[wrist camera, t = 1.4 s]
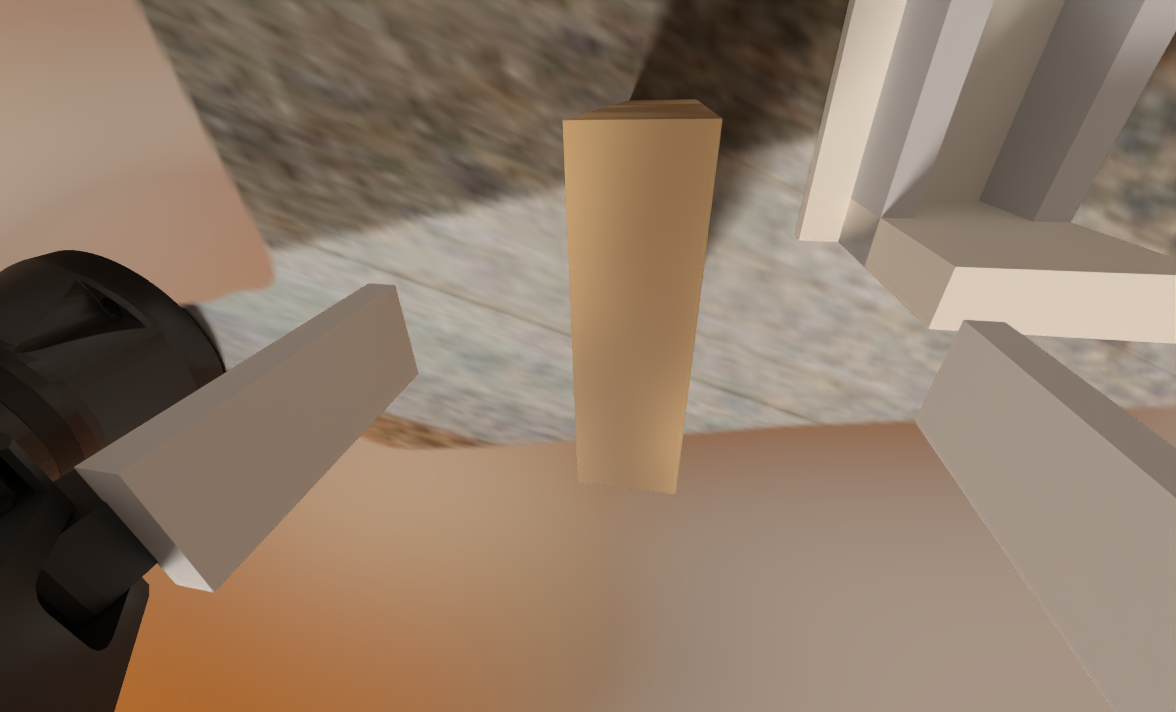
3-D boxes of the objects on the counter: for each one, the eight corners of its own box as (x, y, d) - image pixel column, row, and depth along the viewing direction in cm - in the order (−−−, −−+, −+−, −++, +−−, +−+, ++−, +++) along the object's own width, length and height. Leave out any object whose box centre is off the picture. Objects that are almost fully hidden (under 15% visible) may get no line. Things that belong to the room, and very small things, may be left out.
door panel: (622, 299, 25) (575, 481, 14) (627, 100, 20) (557, 119, 8) (678, 302, 25) (678, 494, 13) (698, 99, 20) (728, 119, 8)
